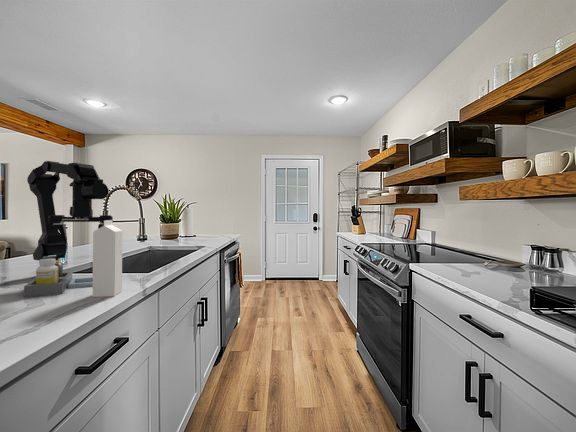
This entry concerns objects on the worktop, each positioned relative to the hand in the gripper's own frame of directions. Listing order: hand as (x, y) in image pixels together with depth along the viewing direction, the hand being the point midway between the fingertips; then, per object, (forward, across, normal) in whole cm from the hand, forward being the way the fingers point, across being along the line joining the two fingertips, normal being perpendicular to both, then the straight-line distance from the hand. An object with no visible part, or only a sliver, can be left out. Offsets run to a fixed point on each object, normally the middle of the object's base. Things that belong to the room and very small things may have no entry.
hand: (82, 243), depth 112 cm
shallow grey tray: (+13, +8, +8) cm, 17 cm away
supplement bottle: (+13, +8, +13) cm, 20 cm away
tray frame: (+13, -2, +6) cm, 15 cm away
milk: (+13, -9, +24) cm, 29 cm away
